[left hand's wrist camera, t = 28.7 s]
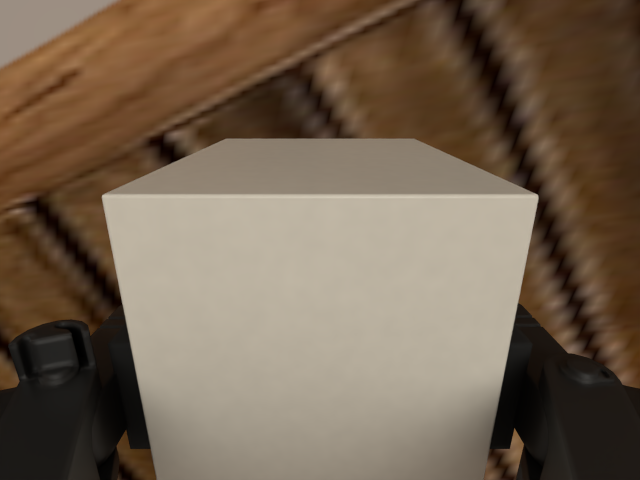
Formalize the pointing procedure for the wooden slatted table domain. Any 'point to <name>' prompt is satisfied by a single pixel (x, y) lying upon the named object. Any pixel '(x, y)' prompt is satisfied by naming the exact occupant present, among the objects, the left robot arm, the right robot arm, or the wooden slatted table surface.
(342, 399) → the beige block
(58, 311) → the wooden slatted table surface
